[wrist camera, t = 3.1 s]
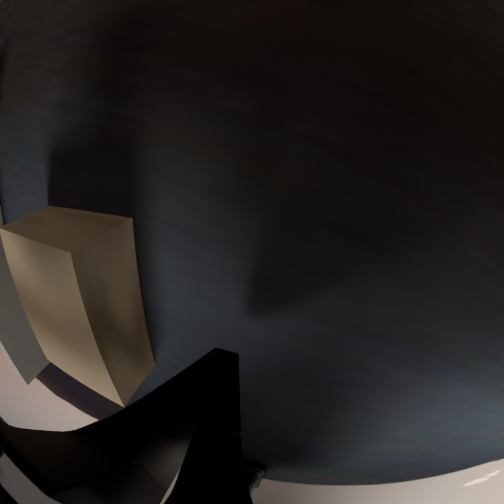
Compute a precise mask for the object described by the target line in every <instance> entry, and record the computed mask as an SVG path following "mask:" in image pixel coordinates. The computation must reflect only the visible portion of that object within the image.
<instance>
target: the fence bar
mask: <svg viewBox="0 0 504 504" xmlns="http://www.w3.org/2000/svg"><path fill="white" fill-rule="evenodd" d="M2 226H4V223H3V218H2V212H1V206H0V227H2ZM0 349H1V351H2V352H3V354H4V356H5V358H6V359H7V361H8V363H9V364H10V366H11V367H12V369H13V370H14V372H15V373H16V374H17V375H18V376H19V377H20V378H21V379H22V380H23V381H24V382H25V383H26V384H27V385H28V384H29V383H30V382H31V381H32V380H33V379H34V378H35V377H36V376H37V375H38V374H39V373H40V372H41V371H42V370H43V369H44V368H45V367H46V366H47V365H48V364H49V363H50V361H49V360H48V359H47V358H46V356H45V354H44V352H43V350H42V348H41V346H40V344H39V342H38V340H37V338H36V336H35V334H34V332H33V330H32V327H31V325H30V323H29V321H28V318H27V316H26V313H25V311H24V309H23V306H22V303H21V301H20V298H19V296H18V293H17V290H16V287H15V284H14V281H13V278H12V275H11V272H10V269H9V265H8V262H7V258H6V255H5V251H4V247H3V243H2V239H1V234H0Z"/></svg>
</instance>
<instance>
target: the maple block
mask: <svg viewBox="0 0 504 504" xmlns="http://www.w3.org/2000/svg"><path fill="white" fill-rule="evenodd" d="M0 234H1V239H2V243H3V247H4V251H5V255H6V258H7V262H8V265H9V269H10V272H11V275H12V278H13V281H14V284H15V287H16V290H17V293H18V296H19V298H20V301H21V303H22V306H23V309H24V311H25V313H26V316H27V318H28V321H29V323H30V325H31V327H32V330H33V332H34V334H35V336H36V338H37V340H38V342H39V344H40V346H41V348H42V350H43V352H44V354H45V356H46V358H47V359H48V360H49V361H50V362H52V363H53V364H55V365H56V366H57V367H59V368H60V369H62V370H63V371H64V372H66V373H67V374H69V375H70V376H72V377H73V378H75V379H76V380H78V381H80V382H81V383H83V384H84V385H86V386H88V387H89V388H91V389H92V390H94V391H96V392H98V393H99V394H101V395H103V396H105V397H106V398H108V399H110V400H112V401H114V402H115V403H117V404H119V405H121V406H123V407H125V406H126V404H127V403H128V401H129V400H130V399H131V397H132V396H133V394H134V393H135V391H136V390H137V389H138V387H139V386H140V384H141V383H142V382H143V380H144V379H145V377H146V376H147V375H148V373H149V372H150V370H151V369H152V368H153V366H154V365H155V362H154V358H153V354H152V349H151V345H150V340H149V335H148V331H147V325H146V320H145V315H144V309H143V303H142V297H141V291H140V284H139V277H138V269H137V261H136V252H135V242H134V231H133V218H128V217H122V216H115V215H109V214H103V213H96V212H89V211H83V210H76V209H69V208H63V207H56V206H49V205H48V206H45V207H43V208H40V209H38V210H36V211H34V212H31V213H29V214H27V215H25V216H22V217H20V218H18V219H16V220H14V221H12V222H10V223H8V224H6V225H4V226H2V227H0Z"/></svg>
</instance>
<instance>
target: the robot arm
mask: <svg viewBox="0 0 504 504" xmlns="http://www.w3.org/2000/svg"><path fill="white" fill-rule="evenodd" d="M180 467H181V468H180ZM179 469H180V472H179V474H178V477H177V480H176V483H175V485H174V488H173V490H172V492H171V494H170V495H169V497H168V498H167V500H166V501H165V503H164V504H253V502H252V498H251V496H252V493H253V490H254V487H256V488H257V487H259V485H260V482H261V480H262V478H263V476H264V474H265V471H266V467H264V466H261V465H256V464H252V463H248V462H243V455H242V442H241V417H240V382H239V354H238V353H235V352H231V351H226V350H224V349H220V348H214V349H213V350H211V351H210V352H208V353H207V354H206V355H204V356H203V357H201V358H200V359H199V360H197V361H196V362H194V363H193V364H191V365H190V366H189V367H187V368H186V369H184V370H183V371H181V372H180V373H178V374H177V375H175V376H174V377H172V378H171V379H169V380H168V381H166V382H165V383H163V384H162V385H160V386H159V387H157V388H156V389H154V390H153V391H151V392H150V393H148V394H147V395H145V396H144V397H142V399H141V398H140V399H139V400H137V401H136V402H134V403H132V404H131V405H129V406H127V407H125V408H124V409H122V410H120V411H118V412H116V413H114V414H112V415H110V416H108V417H106V418H103V419H101V420H99V421H96V422H94V423H92V424H89V425H87V426H84V427H82V428H79V429H77V430H72V431H65V432H59V431H43V430H32V429H23V428H17V427H13V426H10V425H8V424H7V423H6V422H5V421H4V420H3V419H2V417H0V504H160V502H161V501H162V499H163V497H164V496H165V493H166V492H167V490H168V488H169V487H170V485H171V483H172V482H173V480H174V478H175V476H176V474H177V473H178V471H179Z"/></svg>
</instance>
